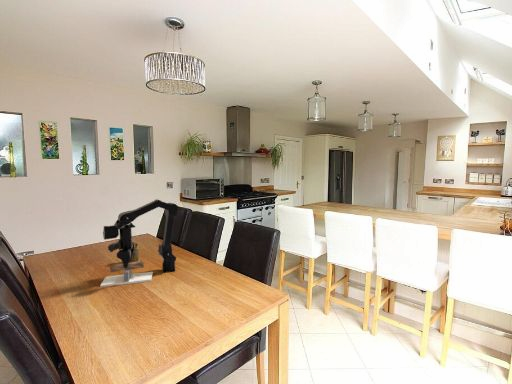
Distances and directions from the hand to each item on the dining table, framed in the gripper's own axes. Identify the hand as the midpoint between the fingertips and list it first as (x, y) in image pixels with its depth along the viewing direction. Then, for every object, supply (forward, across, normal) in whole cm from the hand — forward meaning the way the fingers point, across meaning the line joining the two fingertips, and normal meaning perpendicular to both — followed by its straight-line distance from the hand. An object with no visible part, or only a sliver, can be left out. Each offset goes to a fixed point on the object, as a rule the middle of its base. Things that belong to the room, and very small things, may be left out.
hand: (127, 265), depth 147 cm
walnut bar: (+2, 0, 0) cm, 2 cm away
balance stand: (+8, 0, 0) cm, 8 cm away
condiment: (+8, -28, -1) cm, 29 cm away
